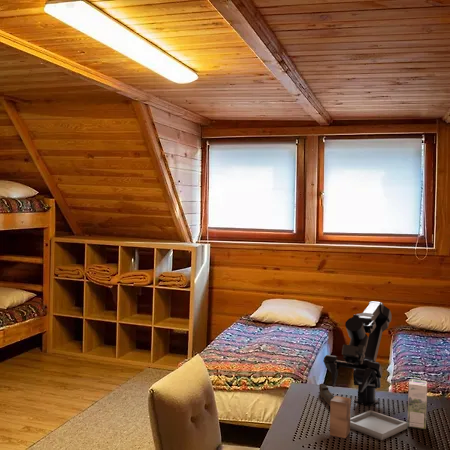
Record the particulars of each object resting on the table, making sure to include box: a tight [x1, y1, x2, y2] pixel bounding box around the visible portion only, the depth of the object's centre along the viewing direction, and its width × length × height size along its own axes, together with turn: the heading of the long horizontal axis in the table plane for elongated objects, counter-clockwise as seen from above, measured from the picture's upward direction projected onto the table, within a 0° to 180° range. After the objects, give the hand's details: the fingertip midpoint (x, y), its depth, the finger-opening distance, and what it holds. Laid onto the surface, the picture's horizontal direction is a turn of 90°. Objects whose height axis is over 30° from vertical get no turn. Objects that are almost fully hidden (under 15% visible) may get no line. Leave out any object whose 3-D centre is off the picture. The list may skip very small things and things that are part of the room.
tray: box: [350, 409, 408, 441], centre depth 186 cm, size 14×14×2 cm
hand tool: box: [318, 382, 336, 406], centre depth 208 cm, size 19×4×5 cm, turn 6°
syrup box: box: [407, 378, 428, 430], centre depth 188 cm, size 6×6×14 cm
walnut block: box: [329, 395, 352, 439], centre depth 180 cm, size 5×5×11 cm
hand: (346, 389), depth 185 cm, fingers open, 9 cm apart
